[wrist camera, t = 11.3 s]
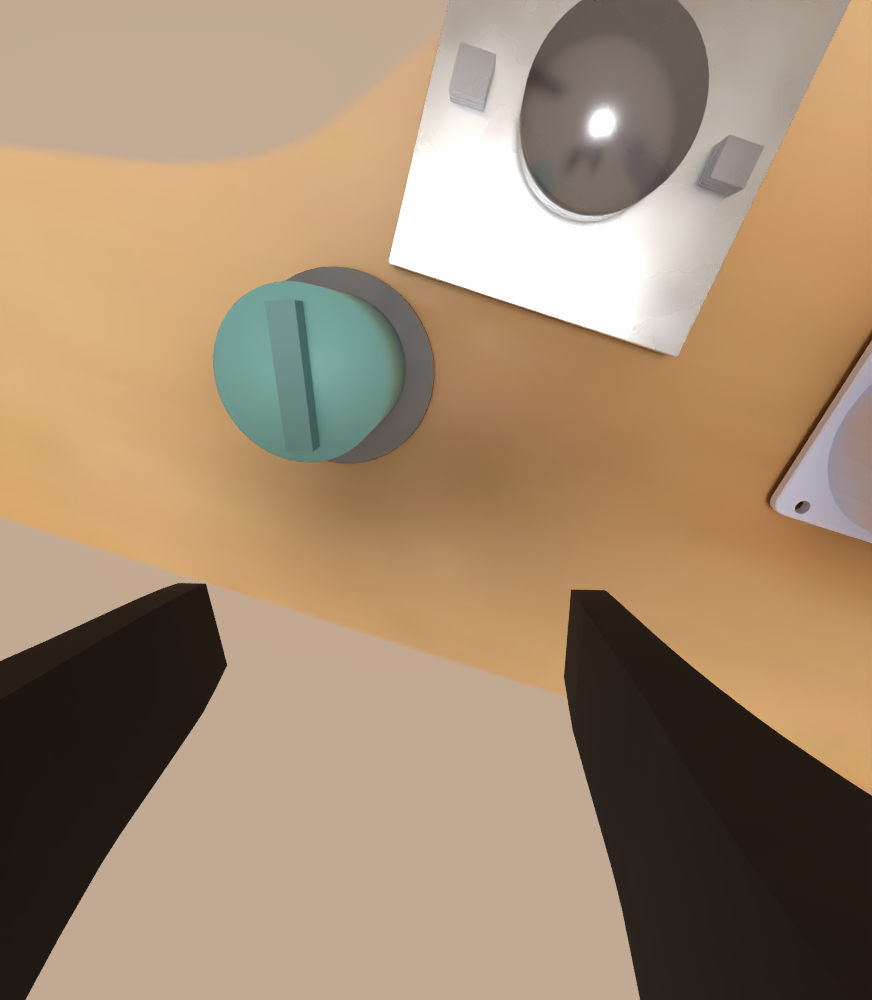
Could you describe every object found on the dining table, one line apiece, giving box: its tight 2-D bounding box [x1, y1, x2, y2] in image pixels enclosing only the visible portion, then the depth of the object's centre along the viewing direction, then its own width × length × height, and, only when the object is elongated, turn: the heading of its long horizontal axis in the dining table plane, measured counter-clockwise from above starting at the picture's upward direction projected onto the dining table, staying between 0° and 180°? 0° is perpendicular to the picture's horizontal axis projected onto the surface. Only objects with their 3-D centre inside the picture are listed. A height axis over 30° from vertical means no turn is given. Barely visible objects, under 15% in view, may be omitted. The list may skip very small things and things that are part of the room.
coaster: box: [286, 267, 434, 463], centre depth 17 cm, size 7×7×1 cm
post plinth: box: [389, 0, 850, 357], centre depth 13 cm, size 10×10×2 cm
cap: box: [213, 281, 406, 462], centre depth 14 cm, size 5×5×5 cm
